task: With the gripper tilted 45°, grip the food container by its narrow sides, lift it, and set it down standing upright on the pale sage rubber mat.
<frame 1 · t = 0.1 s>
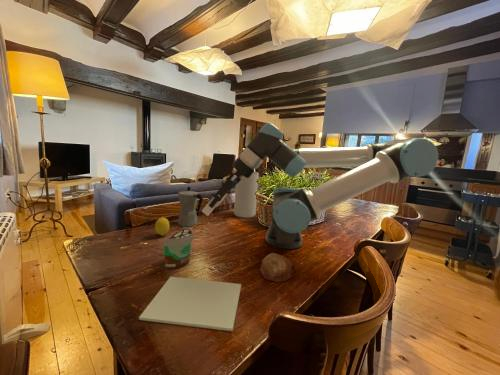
hand: (210, 208, 83), 15 cm above the table, tool tilted 35°, fingers open, 13 cm apart
coffeepot: (189, 224, 110), on the table
lemon: (162, 236, 94), on the table
cylinder vase: (244, 215, 132), on the table
food container: (182, 263, 73), on the table
bread roll: (276, 274, 71), on the table
mat: (196, 300, 56), on the table
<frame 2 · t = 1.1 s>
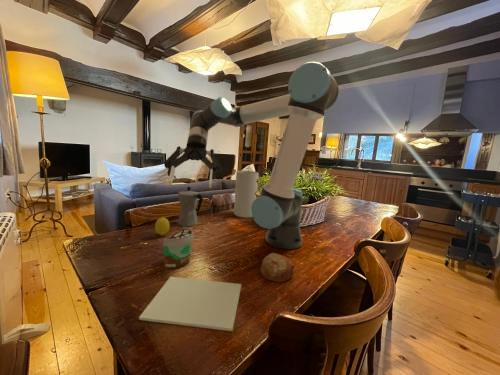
hand: (190, 184, 79), 24 cm above the table, tool tilted 45°, fingers open, 13 cm apart
nothing on the table moved.
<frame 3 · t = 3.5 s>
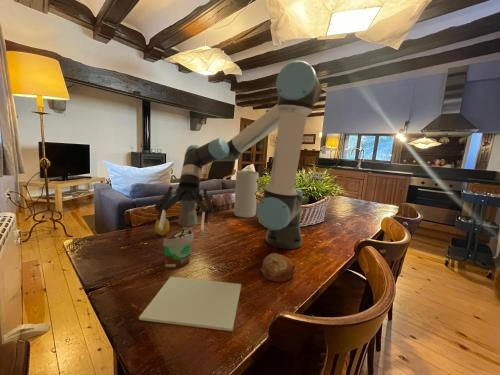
hand: (181, 230, 76), 9 cm above the table, tool tilted 45°, fingers open, 13 cm apart
nothing on the table moved.
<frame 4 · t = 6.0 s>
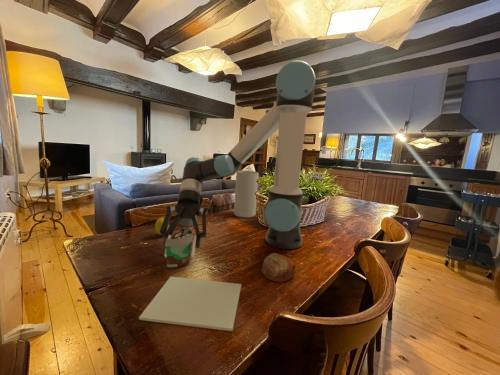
hand: (179, 257, 69), 4 cm above the table, tool tilted 45°, fingers closed on food container, 7 cm apart
food container: (183, 263, 73), on the table, touching gripper
everything else where it was.
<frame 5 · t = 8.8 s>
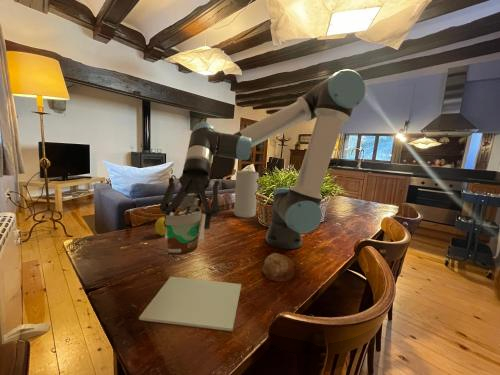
hand: (184, 240, 54), 15 cm above the table, tool tilted 45°, fingers closed on food container, 7 cm apart
food container: (188, 248, 58), point 11 cm above the table, touching gripper
everything else where it was.
when the fingers open (5 cm above the table, at t = 11.8 s): food container drops 1 cm, resting on mat.
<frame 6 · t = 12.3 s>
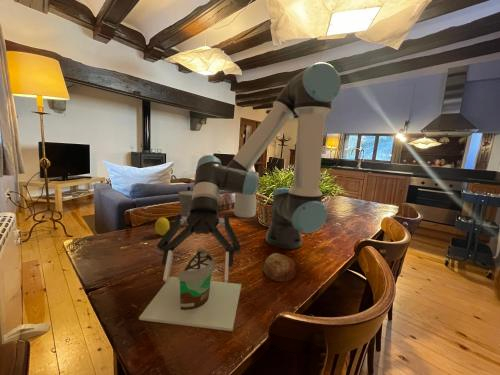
hand: (196, 281, 52), 7 cm above the table, tool tilted 45°, fingers open, 13 cm apart
food container: (200, 299, 56), resting on mat
everything else where it was.
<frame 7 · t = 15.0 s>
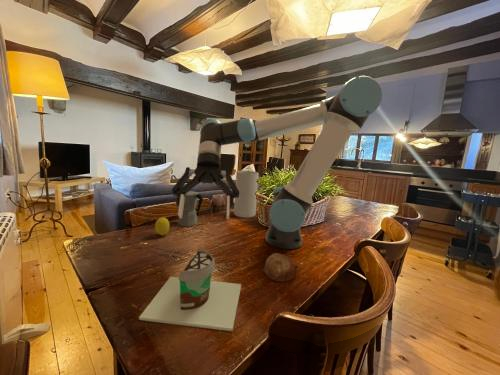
hand: (204, 217, 66), 17 cm above the table, tool tilted 40°, fingers open, 13 cm apart
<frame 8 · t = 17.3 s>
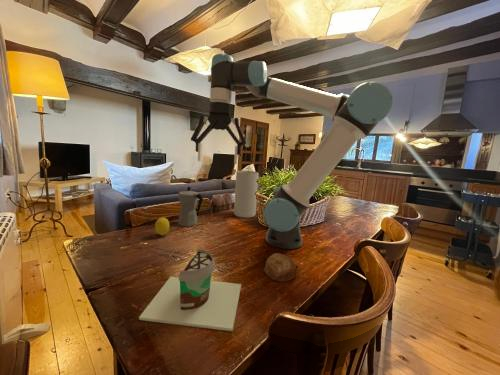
hand: (217, 162, 85), 32 cm above the table, tool pointing down, fingers open, 13 cm apart
at the end: food container inside the target area on the mat (0.8 cm from its centre), point 0.4 cm above the mat's base; food container tilted 0°; the gripper is holding nothing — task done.
